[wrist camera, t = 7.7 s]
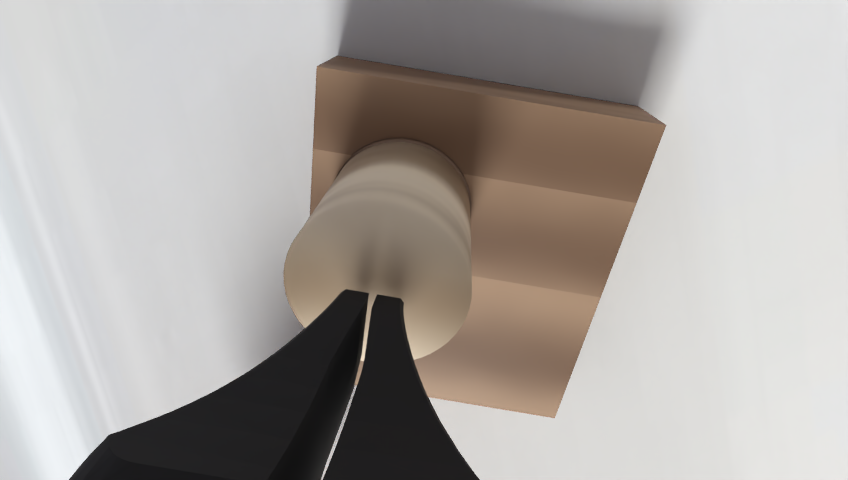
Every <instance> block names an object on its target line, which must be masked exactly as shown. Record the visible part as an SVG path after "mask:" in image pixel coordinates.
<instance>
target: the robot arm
mask: <svg viewBox="0 0 848 480" xmlns="http://www.w3.org/2000/svg"><path fill="white" fill-rule="evenodd" d="M368 297H369V293H366V292H360V291H354V290H348V289H345V290H344V291H342V292H341V293H340V294H339V295H338V296H337V297H336V298H335V300H334V301H333V302H332V303H331V304H330V305H329V306H328V307H327V308H326V309H325V310H324V311H323V312H322V313H321V314H320V315H319V316H318V317H317V318H316V319H315V320H314V321H313V322H311V323H310V324H309V325H308V326H307V327H306V328H305V329H304V330H303V331H302V332H300V333H299V334H298V335H297V336H296V337H294V338H293V339H292V340H291V341H290V342H288V343H287V344H286V345H285V346H283V347H282V348H281V349H280V350H278V351H277V352H276V353H274V354H273V355H272V356H270V357H269V358H268V359H266V360H265V361H263V362H262V363H260V364H259V365H257V366H256V367H254V368H253V369H251V370H250V371H248V372H247V373H245V374H244V375H242V376H240V377H239V378H237V379H235V380H234V381H232V382H230V383H228V384H227V385H225V386H223V387H221V388H219V389H218V390H216V391H214V392H212V393H210V394H208V395H206V396H204V397H202V398H200V399H198V400H196V401H194V402H192V403H190V404H187V405H185V406H183V407H181V408H178V409H176V410H174V411H172V412H169V413H167V414H164V415H162V416H160V417H157V418H154V419H152V420H149V421H146V422H144V423H141V424H138V425H135V426H133V427H130V428H127V429H125V430H122V431H119V432H116V433H113V434H110V435H108V436H107V438H106V439H105V440H104V441H103V442H102V443H101V444H100V445H99V446H98V447H97V448H96V449H95V450H94V451H93V452H92V453H91V454H90V455H89V456H88V458H87V459H86V460H85V461H84V462H83V463H82V464H81V466H80V467H79V468H78V469H77V471H76V472H75V473H74V474H73V475H72V477H71V478H70V479H69V480H321V477H322V474H323V471H324V468H325V465H326V462H327V459H328V457H329V454H330V451H331V448H332V446H333V443H334V440H335V438H336V435H337V432H338V430H339V427H340V424H341V421H342V419H343V416H344V413H345V411H346V408H347V405H348V402H349V400H350V397H351V394H352V391H353V389H354V384H355V380H356V376H357V372H358V368H359V364H360V360H361V356H362V348H363V340H364V331H365V323H366V314H367V305H368ZM323 480H479V478H478V477H477V476H476V475H475V473H474V472H473V471H472V469H471V468H470V466H469V465H468V464H467V462H466V461H465V459H464V458H463V457H462V455H461V454H460V452H459V451H458V449H457V448H456V446H455V444H454V443H453V441H452V440H451V438H450V436H449V435H448V433H447V431H446V430H445V428H444V427H443V425H442V423H441V422H440V420H439V418H438V416H437V414H436V412H435V410H434V408H433V406H432V404H431V402H430V400H429V398H428V396H427V394H426V391H425V389H424V387H423V384H422V382H421V379H420V376H419V374H418V371H417V368H416V365H415V362H414V359H413V356H412V353H411V349H410V345H409V341H408V337H407V333H406V328H405V322H404V302H403V301H402V299H401V298H396V297H390V296H384V295H378V294H377V296H376V298H375V301H374V303H373V306H372V309H371V316H370V323H369V330H368V337H367V344H366V351H365V358H364V363H363V368H362V372H361V375H360V378H359V381H358V384H357V388H356V391H355V394H354V397H353V400H352V403H351V406H350V409H349V412H348V415H347V418H346V421H345V423H344V426H343V429H342V432H341V434H340V437H339V440H338V443H337V446H336V448H335V451H334V453H333V456H332V458H331V461H330V463H329V466H328V468H327V471H326V473H325V476H324V478H323Z"/></svg>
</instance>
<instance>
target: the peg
mask: <svg viewBox="0 0 848 480" xmlns="http://www.w3.org/2000/svg"><path fill="white" fill-rule="evenodd" d="M470 219H471V195H470V191H469V187H468V184H467V182H466V179H465V177H464V175H463V173H462V172H461V170H460V169H459V167H458V166H457V165H456V164H455V162H454V161H453V160H452V159H451V158H450V157H449V156H448V155H446V154H445V153H444V152H442V151H441V150H440V149H438V148H436V147H434V146H432V145H430V144H428V143H425V142H423V141H420V140H416V139H411V138H386V139H382V140H378V141H374V142H372V143H370V144H367V145H365V146H364V147H362V148H360V149H359V150H358V151H356V152H355V153H354V154H353V155H351V157H350V158H349V159H348V160H347V161H346V162H345V163H344V165H343V166H342V168H341V169H340V171H339V172H338V174H337V176H336V178H335V180H334V182H333V184H332V185H331V186H330V188H329V189H328V191H327V192H326V194H325V195H324V197H323V198H322V200H321V201H320V203H319V204H318V206H317V207H316V208H315V210H314V211H313V213H312V214H311V216H310V217H309V219H308V220H307V222H306V223H305V225H304V226H303V228H302V229H301V230H300V232H299V233H298V235H297V236H296V238H295V239H294V241H293V242H292V244H291V246H290V249H289V251H288V253H287V257H286V260H285V265H284V286H285V292H286V296H287V299H288V302H289V304H290V306H291V308H292V310H293V312H294V314H295V316H296V317H297V319H298V320H299V322H300V323H301V324H302V325H303V327H304V328H306V327H307V326H308V325H309V324H310V323H311V322H313V321H314V320H315V319H316V318H317V317H318V316H319V315H320V314H321V313H322V312H323V311H324V310H325V309H326V308H327V307H328V306H329V305H330V304H331V303H332V302H333V301H334V300H335V298H336V297H337V296H338V295H339V294H340V293H341V292H342V291H344V290H345V289H348V290H354V291H360V292H366V293H369V297H368V305H367V314H366V323H365V331H364V340H363V348H362V356H361V360H360V361H364V358H365V351H366V344H367V337H368V330H369V323H370V316H371V309H372V306H373V303H374V301H375V298H376V296H377V294H378V295H384V296H390V297H396V298H401V299H402V301H403V302H404V322H405V328H406V333H407V337H408V341H409V345H410V349H411V353H412V356H413V359H414V360H415V359H419V358H422V357H424V356H426V355H429V354H431V353H433V352H434V351H436V350H438V349H440V348H441V347H442V346H444V345H445V344H446V343H447V342H449V341H450V340H451V339H452V338H453V337H454V336H455V335H456V333H457V332H458V331H459V329H460V328H461V327H462V325H463V323H464V321H465V319H466V317H467V314H468V311H469V309H470V304H471V299H472V266H471V224H470Z"/></svg>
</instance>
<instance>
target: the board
mask: <svg viewBox="0 0 848 480" xmlns="http://www.w3.org/2000/svg"><path fill="white" fill-rule="evenodd" d="M665 127H666V125H665V124H664V123H662V122H661V121H659V120H658V119H656V118H655V117H653V116H652V115H650V114H649V113H647V112H646V111H644V110H643V109H641V108H640V107H638V106H633V105H627V104H621V103H615V102H609V101H603V100H597V99H591V98H585V97H579V96H573V95H568V94H562V93H556V92H550V91H544V90H538V89H532V88H526V87H520V86H514V85H508V84H502V83H496V82H490V81H484V80H478V79H472V78H467V77H461V76H455V75H449V74H443V73H437V72H431V71H425V70H419V69H413V68H407V67H401V66H395V65H389V64H383V63H377V62H372V61H366V60H360V59H354V58H348V57H342V56H336V57H334V58H332V59H330V60H328V61H326V62H324V63H322V64H320V65H319V66H317V73H316V95H315V117H314V139H313V161H312V183H311V204H310V216H311V214H312V213H313V211H314V210H315V208H316V207H317V206H318V204H319V203H320V201H321V200H322V198H323V197H324V195H325V194H326V192H327V191H328V189H329V188H330V186H331V185H332V184H333V182H334V180H335V178H336V176H337V174H338V172H339V171H340V169H341V168H342V166H343V165H344V163H345V162H346V161H347V160H348V159H349V158H350V157H351V155H353V154H354V153H355V152H356V151H358V150H359V149H360V148H362V147H364V146H365V145H367V144H370V143H372V142H374V141H378V140H382V139H386V138H411V139H416V140H420V141H423V142H425V143H428V144H430V145H432V146H434V147H436V148H438V149H440V150H441V151H442V152H444V153H445V154H446V155H448V156H449V157H450V158H451V159H452V160H453V161H454V162H455V164H456V165H457V166H458V167H459V169H460V170H461V172H462V173H463V175H464V177H465V179H466V182H467V184H468V187H469V191H470V195H471V219H470V224H471V266H472V299H471V304H470V309H469V311H468V314H467V317H466V319H465V321H464V323H463V325H462V327H461V328H460V329H459V331H458V332H457V333H456V335H455V336H454V337H453V338H452V339H451V340H450V341H449V342H447V343H446V344H445V345H444V346H442V347H441V348H440V349H438V350H436V351H434V352H433V353H431V354H429V355H426V356H424V357H422V358H419V359H415V360H414V362H415V365H416V368H417V371H418V374H419V376H420V379H421V382H422V384H423V387H424V389H425V391H426V394H427V396H428V397H431V398H437V399H443V400H449V401H455V402H461V403H467V404H473V405H479V406H485V407H491V408H497V409H503V410H509V411H515V412H521V413H527V414H533V415H539V416H545V417H551V418H555V416H556V413H557V411H558V408H559V405H560V403H561V400H562V397H563V395H564V392H565V390H566V387H567V384H568V382H569V379H570V376H571V374H572V371H573V369H574V366H575V363H576V361H577V358H578V355H579V353H580V350H581V348H582V345H583V342H584V340H585V337H586V334H587V332H588V329H589V326H590V324H591V321H592V319H593V316H594V313H595V311H596V308H597V305H598V303H599V300H600V298H601V295H602V292H603V290H604V287H605V284H606V282H607V279H608V277H609V274H610V271H611V269H612V266H613V263H614V261H615V258H616V256H617V253H618V250H619V248H620V245H621V242H622V240H623V237H624V235H625V232H626V229H627V227H628V224H629V221H630V219H631V216H632V214H633V211H634V208H635V206H636V203H637V200H638V198H639V195H640V193H641V190H642V187H643V185H644V182H645V179H646V177H647V174H648V172H649V169H650V166H651V164H652V161H653V158H654V156H655V153H656V151H657V148H658V145H659V143H660V140H661V137H662V135H663V132H664V130H665ZM363 363H364V361H360V364H359V368H358V372H357V376H356V380H355V384H354V385H357V384H358V381H359V378H360V375H361V372H362V368H363Z"/></svg>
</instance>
